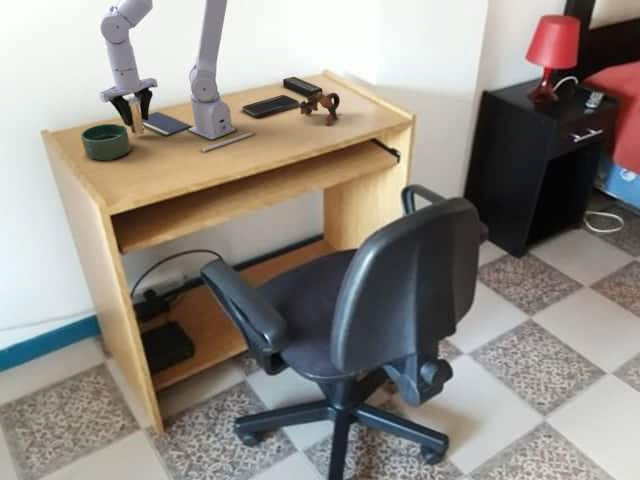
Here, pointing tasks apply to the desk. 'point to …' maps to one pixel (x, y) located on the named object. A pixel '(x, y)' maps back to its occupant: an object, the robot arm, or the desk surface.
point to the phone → (270, 106)
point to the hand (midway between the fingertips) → (136, 122)
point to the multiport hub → (301, 86)
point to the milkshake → (135, 115)
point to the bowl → (106, 141)
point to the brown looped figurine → (325, 102)
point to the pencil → (226, 142)
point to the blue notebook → (164, 124)
